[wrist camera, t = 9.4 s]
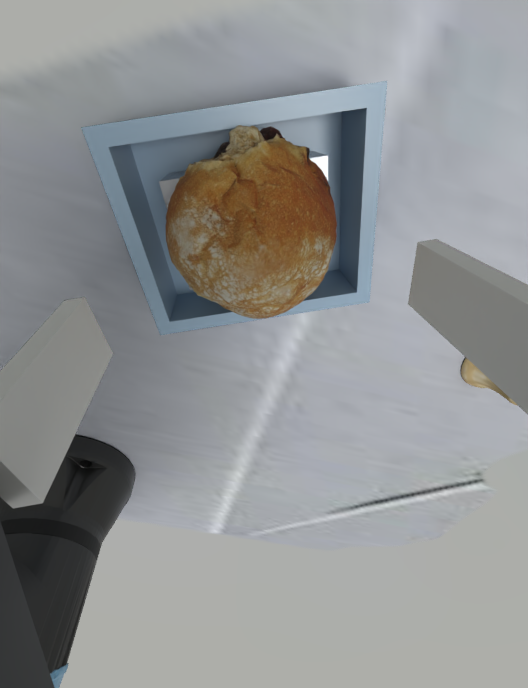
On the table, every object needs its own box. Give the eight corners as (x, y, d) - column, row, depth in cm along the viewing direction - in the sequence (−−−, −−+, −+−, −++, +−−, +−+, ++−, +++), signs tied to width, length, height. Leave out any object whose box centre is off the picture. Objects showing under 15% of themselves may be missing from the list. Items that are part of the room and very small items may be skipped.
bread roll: (169, 227, 23) (137, 314, 19) (205, 68, 15) (162, 157, 11) (288, 274, 26) (283, 357, 22) (371, 162, 18) (388, 260, 14)
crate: (170, 301, 28) (160, 335, 24) (112, 126, 21) (81, 127, 16) (346, 274, 28) (369, 302, 24) (352, 89, 21) (387, 80, 16)
